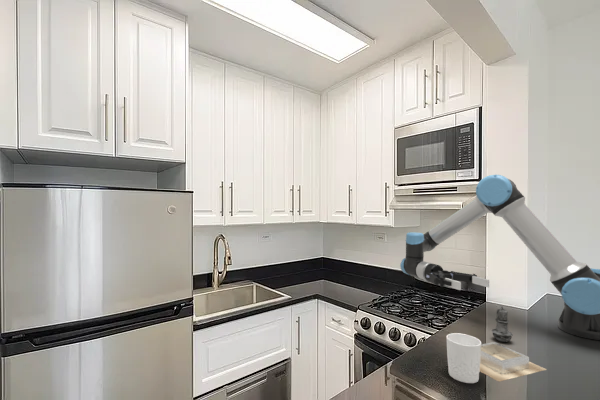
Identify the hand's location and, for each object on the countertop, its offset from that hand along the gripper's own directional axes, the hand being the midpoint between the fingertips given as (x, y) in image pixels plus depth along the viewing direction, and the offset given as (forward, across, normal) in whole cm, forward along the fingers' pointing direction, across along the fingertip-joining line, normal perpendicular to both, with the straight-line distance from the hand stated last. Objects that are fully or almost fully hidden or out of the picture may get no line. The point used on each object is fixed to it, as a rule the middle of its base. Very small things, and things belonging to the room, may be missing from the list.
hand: (474, 284), depth 111 cm
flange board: (+20, +15, -16) cm, 30 cm away
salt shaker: (+10, 0, -17) cm, 19 cm away
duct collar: (+20, +15, -16) cm, 29 cm away
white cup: (+22, +30, -17) cm, 41 cm away
